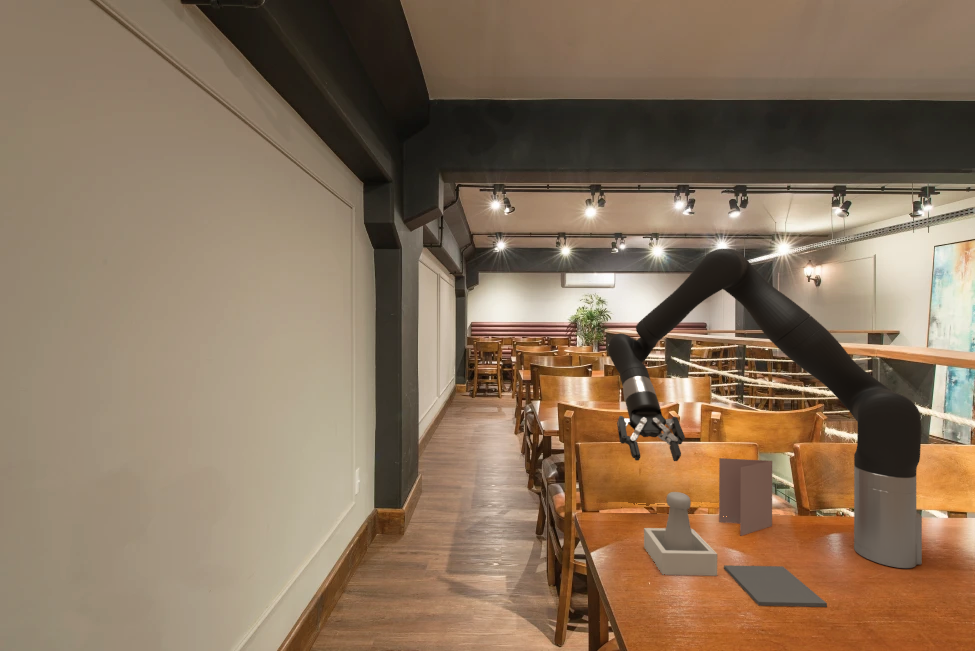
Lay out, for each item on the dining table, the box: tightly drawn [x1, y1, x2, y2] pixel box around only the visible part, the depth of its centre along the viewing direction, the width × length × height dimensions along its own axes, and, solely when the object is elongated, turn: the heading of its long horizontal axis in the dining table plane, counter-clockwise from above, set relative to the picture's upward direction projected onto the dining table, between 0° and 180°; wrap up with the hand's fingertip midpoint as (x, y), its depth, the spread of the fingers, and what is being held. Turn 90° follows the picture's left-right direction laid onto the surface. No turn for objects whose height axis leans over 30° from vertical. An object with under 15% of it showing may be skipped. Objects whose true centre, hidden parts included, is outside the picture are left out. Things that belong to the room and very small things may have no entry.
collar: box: [643, 527, 718, 577], centre depth 85 cm, size 10×10×4 cm
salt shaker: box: [663, 491, 695, 551], centre depth 85 cm, size 6×6×13 cm
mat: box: [723, 565, 828, 608], centre depth 77 cm, size 11×11×1 cm
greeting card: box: [718, 457, 773, 537], centre depth 99 cm, size 11×7×15 cm, turn 81°
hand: (657, 459), depth 97 cm, fingers open, 8 cm apart
